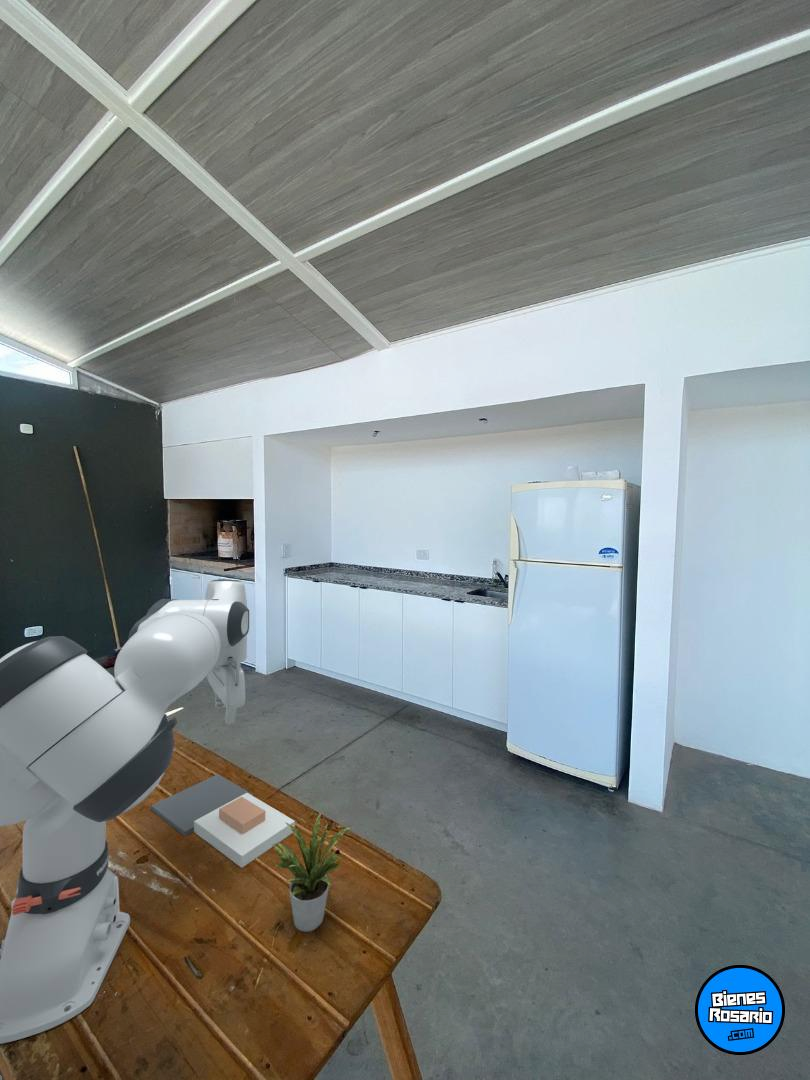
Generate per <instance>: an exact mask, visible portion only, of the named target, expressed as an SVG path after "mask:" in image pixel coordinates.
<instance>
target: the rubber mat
mask: <svg viewBox="0 0 810 1080" xmlns="http://www.w3.org/2000/svg"><path fill="white" fill-rule="evenodd" d="M245 793H248V794H250V795H252V796H253V797H254V793H251V792H249V791H247V790H246V789H244V788H243V787H241V786H239V785H238V784H236V783H234V781H233V782H232V781H231V780H229V779H227V778H225V777H224V776H222V775H220V774H219V773H217V774H215V775H213V776H211V777H209V778H206V779H204V780H202V781H201V782H198V783H196V784H194V785H192V786H190V787H187V788H186V789H183V790H181V791H179V792H177V793H175V794H173V795H171V796H168V797H166V798H164V799H161V800H160V801H158V802H155V803H153V804H151V805H150V810H151V811H152V812H153V813H154V814H155V815H157V816H158V817H160V818H161V819H162V820H163V821H165V822H166V823H167V824H168V825H170V826H171V827H173V829H175V831H178V832H179V833H180V834H181V835H183V836H184V837H186V836H188V835H190V834H191V832H192V833H194V821H195V820H197V819H199V818H201V817H203V816H204V815H206V814H208V813H210V812H212V811H214V810H216V809H217V808H219V807H221V806H223V805H225V804H227V803H229V802H231V801H232V800H234V799H236V798H238V797H240V796H242V795H244V794H245Z"/></svg>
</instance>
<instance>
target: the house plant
mask: <svg viewBox="0 0 810 1080" xmlns="http://www.w3.org/2000/svg"><path fill="white" fill-rule="evenodd" d="M321 816H322V812H321V811H320V812H319V813H318V815H317V818H316V821H315V822H314V826H313V830H312V835H311V836H310V835H308V836H309V845H308V846H307V844H306V841H305V839H304V837H303V834H302V833H301V832H300V830H299V829H297V828H296V827H295V828H294V827H293V826H292V825H290V824H288V823H286V822H285V823H286V824H287V825H288V827H289V828H290V829H291V830H292V831H293V833H292V834H293V835H294V836H295V837H296V840H297V842H298V846H299V849H300V851H301V855H302V859H303V863H304V865H305V866H303V864H302V863H301V861H300V859H299V857H298V856H297V854H296V853H295V852H294V851H293V850H292V849H291V848H290V846H289V847H288V846H287V845H285V844H282V843H280V842H279V843H274V844H276V845H273V844H272V845H273V847H272V848H273V849H274V850H275V851H276V853H277V855H278V857H279V860H280V862H278V863H276V865H275V866H274V868H284V869H288V870H289V871H290V873H291V874H292V875H293V876H294V877H293V878H289V879H287V880H284V882H285V883H290V884H289V889H288V891H289V897H290V898H289V899H290V906H291V912H292V919H293V923H294V926H295V928H296V929H297V930H298V931H301V932H305V933H306V932H312V931H314V930H315V929H317V928H319V926H320V925H321V924H322V923H323V920H324V917H325V909H326V905H327V899H328V894H329V889H330V888H331V884H332V879H331V878H330V877H328V876H327V875H328V874H329V873H331V872H333V871H334V870H336V869H337V868H338V867H341V865H340V864H338V863H336V862H338V861H339V860H342V858H341V856H339V855H338V854H337V853H336V854H335V852H336V851H337V850H339V847H337V848H336V849H335V850H334V851H332V853H331V854H330V855H329V856H328V854H329V852H330V851H331V850H332V849H333V848H334V846H335V845H336V844H337V842H338V841H339V840H340V838H341V836H343V835H344V834H345V833H346V832H348V831H349V830H351V829H353V828H354V826H350V827H345V828H344V829H341V830H340V831H338V832H337V833H336V834H329V835H327V830H328V826H329V823H326V825H325V826H324V829H323V831H322V835H319V832H320V831H319V830H320V827H321ZM326 835H327V836H326ZM332 837H333V838H332ZM329 838H332V839H331V840H330V841H329V842H328V845H327V846H326V848H325V851H324V852H323V847H324V843H325V841H326V840H328V839H329ZM278 846H279V847H278ZM280 848H281V849H280ZM322 852H323V854H322ZM327 856H328V857H327Z"/></svg>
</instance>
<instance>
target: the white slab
mask: <svg viewBox="0 0 810 1080" xmlns="http://www.w3.org/2000/svg"><path fill="white" fill-rule="evenodd" d="M240 797H243V798H245V799H247V800H248V801H250V802H251V803H253V804H255V805H256V806H258V807H260V808H261V809H263V810H265V811H266V812H265V821H264V822H262V823H260V824H259V825H257V826H255V827H254V828H252V829H251V830H249V831H247V832H246V833H244V834H241V833H240V832H238V831H237V830H235V829H234V828H233V827H231V826H230V825H228V824H227V823H225V822H224V821H222V820H221V819H219V809H220V808H222V807H224V806H225V805H227V804H229V803H231V802H233V801H235V800H236V799H238V798H240ZM240 797H238V798H236V799H234V800H232V801H231V802H229V803H227V804H225V805H223V806H221V807H219V808H217V809H216V810H214V811H212V812H210V813H208V814H206V815H204V816H203V817H201V818H199V819H197V820H195V821H194V831H193V833H195V834H196V835H198V836H199V837H200V838H201V839H203V840H204V841H206V843H208V844H209V845H210V846H211V847H214V848H215V850H218V851H219V852H220V853H221V854H223V855H224V856H225V857H226V858H228V859H229V860H230V861H232V862H233V863H235V864H236V865H237V866H239V867H240V868H244V867H245V866H247V865H249V864H250V863H251V862H253V861H254V860H256V859H257V858H259V857H260V856H261V855H263V854H265V853H266V852H268V851H269V850H270V849H272V848H274V847H273V845H275V846H277V845H276V844H274V843H280V842H282V841H283V840H284V839H286V838H287V837H289V836H290V835H292V834H293V831H292V830H291V829H290V828H289V827H288V825H287V824H286V823H288V824H290V825H292V826H293V827H294V828H296V825H295V824H296V820H294V819H292V818H291V817H289V816H287V815H285V814H284V813H283V812H280V811H279V810H277V809H276V808H274V807H272V806H270V805H268V804H267V803H265V802H264V801H262V800H261V799H258V798H257V797H255V796H254V795H253V796H252V795H250V794H248V793H245V794H244V795H242V796H240ZM285 822H286V823H285ZM272 844H273V845H272ZM255 858H256V859H255Z"/></svg>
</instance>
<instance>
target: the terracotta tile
mask: <svg viewBox="0 0 810 1080" xmlns="http://www.w3.org/2000/svg"><path fill="white" fill-rule="evenodd" d="M265 812H266V811H265V810H263V809H261V808H260V807H258V806H256V805H255V804H253V803H251V802H250V801H248V800H247V799H245V798H243V797H240V798H238V799H236V800H235V801H233V802H231V803H229V804H227V805H225V806H224V807H222V808H220V809H219V819H221V820H222V821H224V822H225V823H227V824H228V825H230V826H231V827H233V828H234V829H235V830H237V831H238V832H240V833H241V834H244V833H246V832H247V831H249V830H251V829H252V828H254V827H255V826H257V825H259V824H260V823H262V822H264V821H265Z"/></svg>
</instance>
